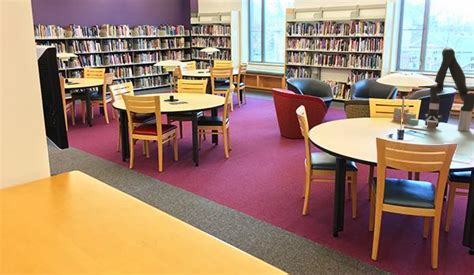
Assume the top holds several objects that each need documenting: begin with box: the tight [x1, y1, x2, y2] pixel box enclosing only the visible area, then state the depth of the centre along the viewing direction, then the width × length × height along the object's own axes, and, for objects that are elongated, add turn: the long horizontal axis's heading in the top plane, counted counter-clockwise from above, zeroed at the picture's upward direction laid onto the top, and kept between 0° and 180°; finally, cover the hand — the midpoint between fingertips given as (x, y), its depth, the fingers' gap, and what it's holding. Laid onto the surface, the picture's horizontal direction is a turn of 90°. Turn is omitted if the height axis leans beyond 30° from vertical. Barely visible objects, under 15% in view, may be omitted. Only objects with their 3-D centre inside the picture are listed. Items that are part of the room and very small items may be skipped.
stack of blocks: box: [392, 107, 417, 124], centre depth 391 cm, size 21×6×12 cm, turn 25°
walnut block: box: [426, 120, 437, 129], centre depth 365 cm, size 6×6×6 cm
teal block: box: [409, 118, 420, 126], centre depth 374 cm, size 6×6×6 cm
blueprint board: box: [403, 123, 437, 133], centre depth 362 cm, size 12×24×2 cm, turn 52°
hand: (431, 126), depth 365 cm, fingers open, 8 cm apart
